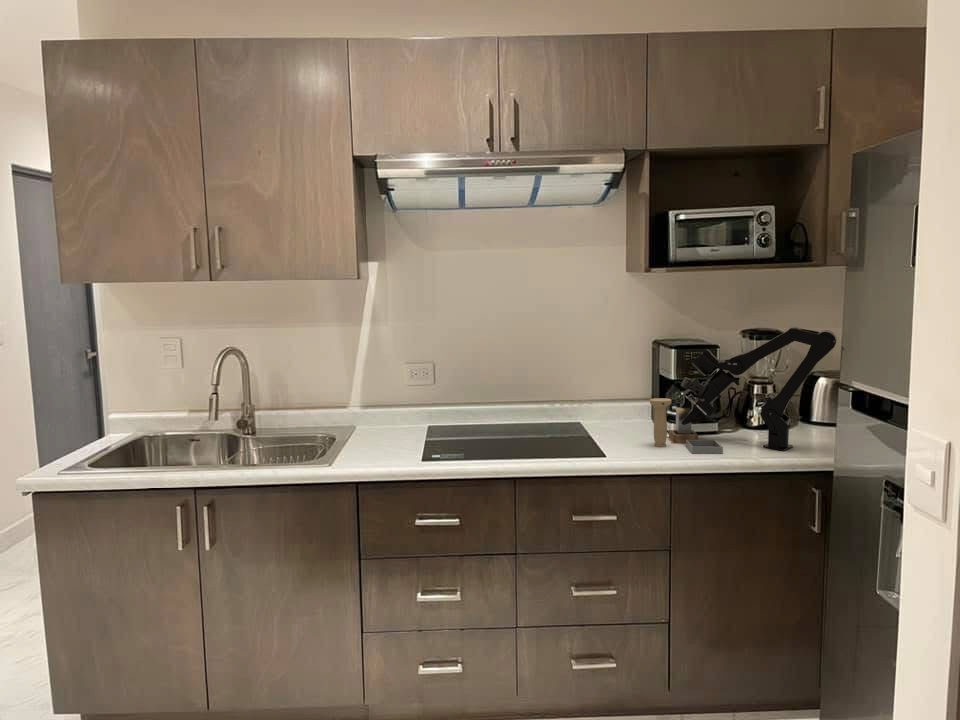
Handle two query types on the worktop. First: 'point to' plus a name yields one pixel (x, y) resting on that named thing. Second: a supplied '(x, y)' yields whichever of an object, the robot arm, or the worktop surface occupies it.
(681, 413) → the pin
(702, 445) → the tray
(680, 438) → the holder
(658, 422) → the handle
